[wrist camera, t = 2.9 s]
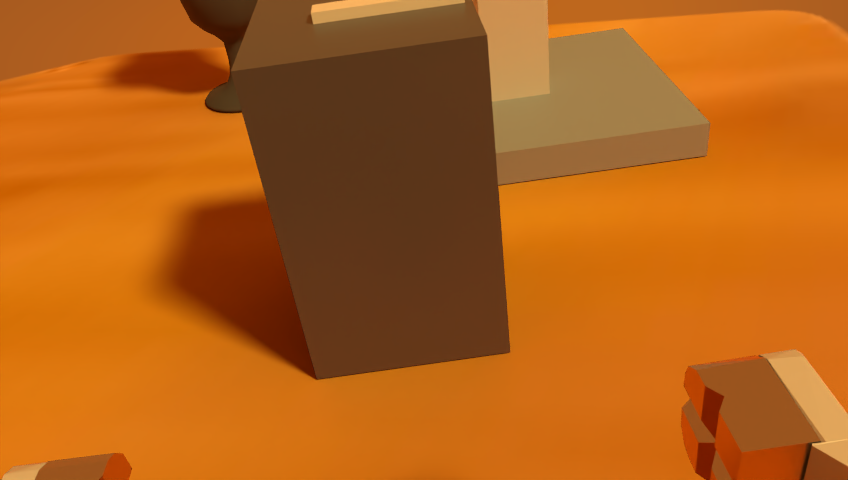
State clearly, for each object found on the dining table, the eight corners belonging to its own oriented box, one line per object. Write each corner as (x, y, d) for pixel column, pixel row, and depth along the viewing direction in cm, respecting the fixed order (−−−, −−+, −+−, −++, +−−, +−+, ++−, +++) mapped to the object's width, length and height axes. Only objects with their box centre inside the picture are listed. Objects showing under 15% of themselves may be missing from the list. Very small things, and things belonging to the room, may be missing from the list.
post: (374, 202, 31) (338, 4, 26) (370, 90, 41) (343, -68, 36) (706, 155, 31) (728, -51, 26) (622, 54, 41) (627, -108, 36)
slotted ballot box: (316, 379, 23) (227, 59, 17) (324, 265, 28) (256, -13, 22) (510, 352, 23) (486, 22, 17) (482, 242, 28) (457, -42, 22)
